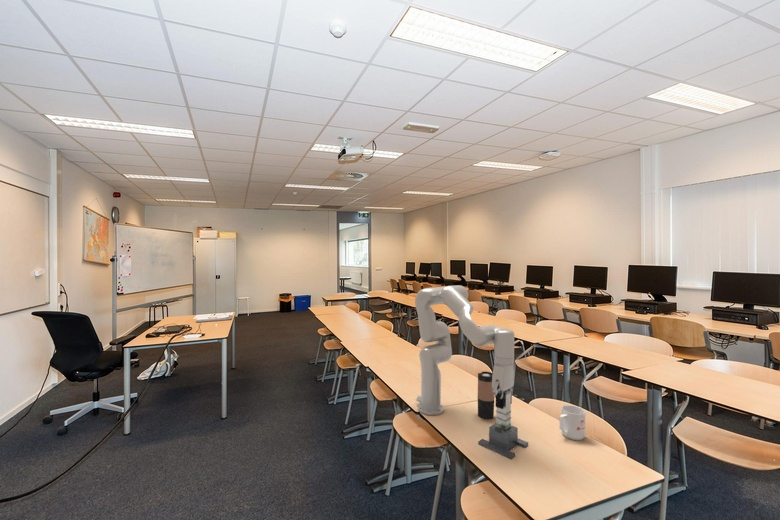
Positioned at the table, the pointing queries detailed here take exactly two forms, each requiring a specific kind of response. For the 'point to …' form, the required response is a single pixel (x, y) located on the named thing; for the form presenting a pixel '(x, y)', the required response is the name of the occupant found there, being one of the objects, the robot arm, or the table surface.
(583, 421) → the mug
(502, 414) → the column
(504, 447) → the stand
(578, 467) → the table surface
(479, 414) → the travel mug
